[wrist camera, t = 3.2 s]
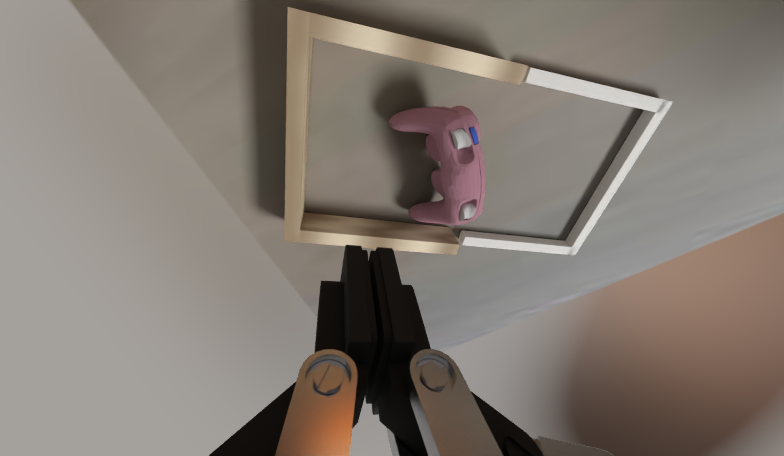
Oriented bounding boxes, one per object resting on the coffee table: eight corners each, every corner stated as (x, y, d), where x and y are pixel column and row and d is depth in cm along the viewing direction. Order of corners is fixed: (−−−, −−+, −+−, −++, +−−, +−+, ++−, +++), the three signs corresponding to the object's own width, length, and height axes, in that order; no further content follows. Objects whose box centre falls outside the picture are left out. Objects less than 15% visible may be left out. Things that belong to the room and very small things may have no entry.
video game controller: (441, 198, 30) (498, 223, 25) (405, 219, 28) (458, 250, 23) (426, 95, 24) (496, 99, 19) (381, 113, 23) (443, 122, 18)
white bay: (660, 99, 26) (673, 102, 25) (568, 248, 34) (575, 255, 33) (522, 66, 23) (531, 67, 22) (458, 238, 31) (462, 245, 30)
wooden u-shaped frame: (507, 62, 22) (528, 65, 20) (446, 237, 31) (455, 255, 28) (295, 10, 19) (287, 7, 17) (289, 222, 27) (284, 240, 25)
